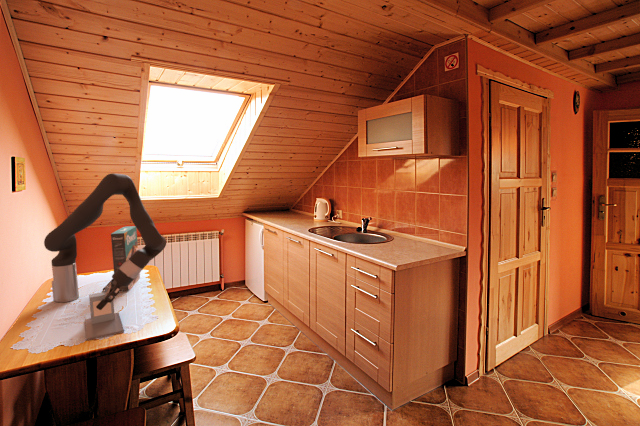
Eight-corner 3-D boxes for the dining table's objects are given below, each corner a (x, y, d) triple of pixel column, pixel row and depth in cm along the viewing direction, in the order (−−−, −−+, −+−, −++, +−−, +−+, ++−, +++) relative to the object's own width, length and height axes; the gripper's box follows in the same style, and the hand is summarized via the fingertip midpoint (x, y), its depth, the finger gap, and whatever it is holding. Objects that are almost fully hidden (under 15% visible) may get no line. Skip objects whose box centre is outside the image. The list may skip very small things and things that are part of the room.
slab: (91, 324, 140) (89, 297, 139) (91, 320, 143) (88, 294, 142) (115, 319, 145) (112, 293, 143) (114, 315, 148) (111, 290, 147)
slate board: (85, 321, 145) (85, 319, 145) (118, 314, 152) (118, 312, 151) (86, 340, 128) (86, 338, 128) (123, 332, 135) (123, 330, 135)
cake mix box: (128, 291, 180) (124, 233, 176) (115, 292, 179) (110, 233, 175) (140, 278, 201) (136, 226, 197) (128, 278, 200) (124, 226, 196)
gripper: (118, 263, 151) (88, 295, 146) (121, 271, 140) (89, 306, 135) (132, 273, 155) (104, 304, 150) (137, 282, 143) (107, 316, 138)
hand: (97, 305), depth 142 cm, fingers open, 8 cm apart
